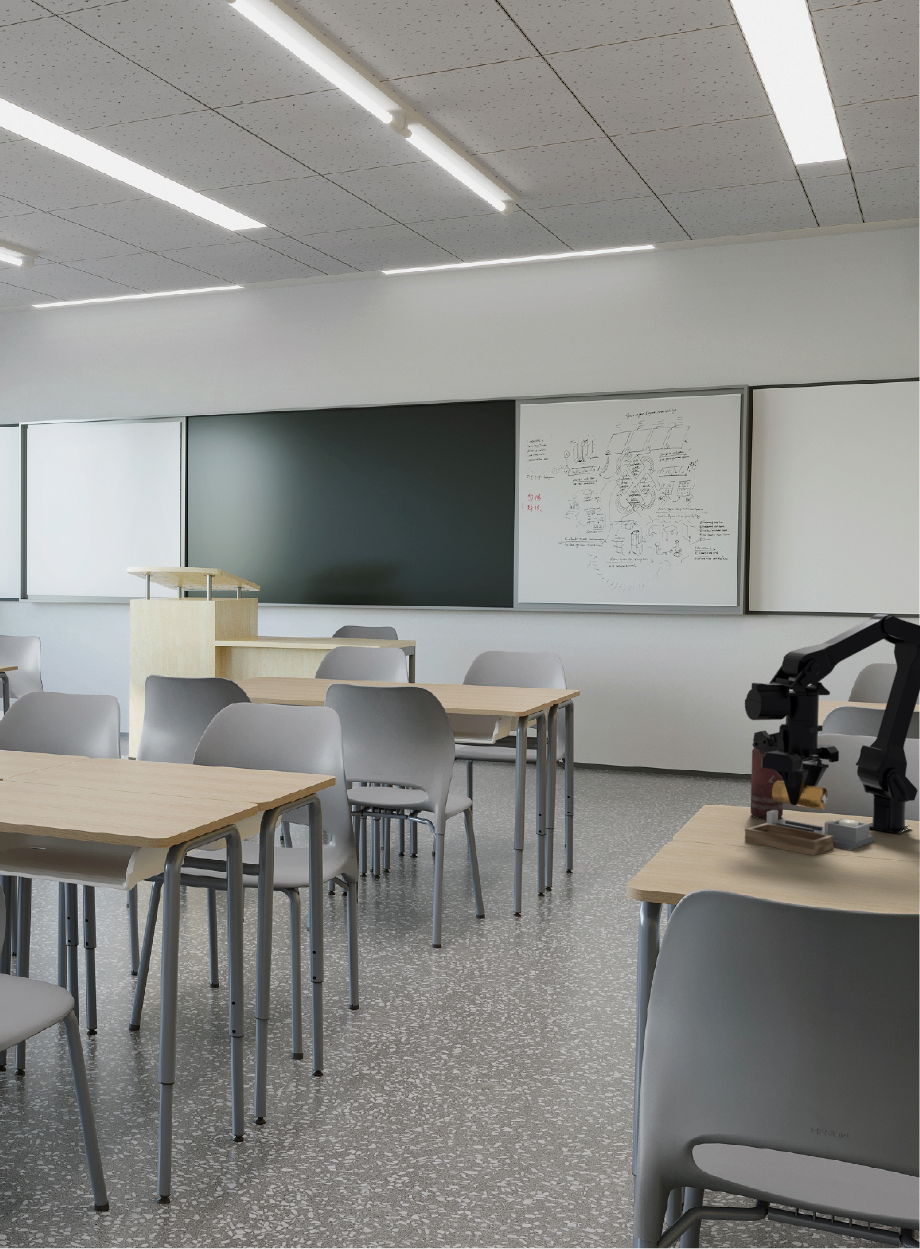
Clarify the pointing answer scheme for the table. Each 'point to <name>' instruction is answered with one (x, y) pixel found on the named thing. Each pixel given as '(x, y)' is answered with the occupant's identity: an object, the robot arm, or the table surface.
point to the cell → (802, 796)
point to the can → (763, 788)
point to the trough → (789, 838)
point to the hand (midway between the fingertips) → (799, 803)
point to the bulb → (848, 823)
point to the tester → (830, 831)
